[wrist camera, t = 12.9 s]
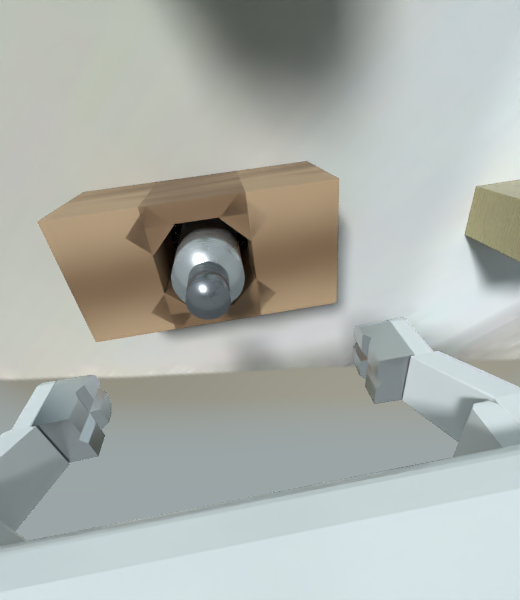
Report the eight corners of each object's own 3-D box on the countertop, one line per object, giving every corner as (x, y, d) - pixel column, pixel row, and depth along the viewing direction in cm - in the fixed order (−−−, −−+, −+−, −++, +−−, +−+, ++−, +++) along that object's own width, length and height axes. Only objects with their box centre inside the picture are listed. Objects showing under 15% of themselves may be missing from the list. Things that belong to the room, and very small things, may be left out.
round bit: (175, 208, 21) (155, 272, 13) (230, 199, 21) (241, 257, 13) (189, 258, 23) (178, 339, 15) (239, 250, 23) (253, 325, 15)
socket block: (82, 192, 19) (37, 221, 14) (306, 161, 20) (338, 178, 15) (121, 290, 23) (95, 342, 18) (309, 261, 24) (336, 302, 19)
